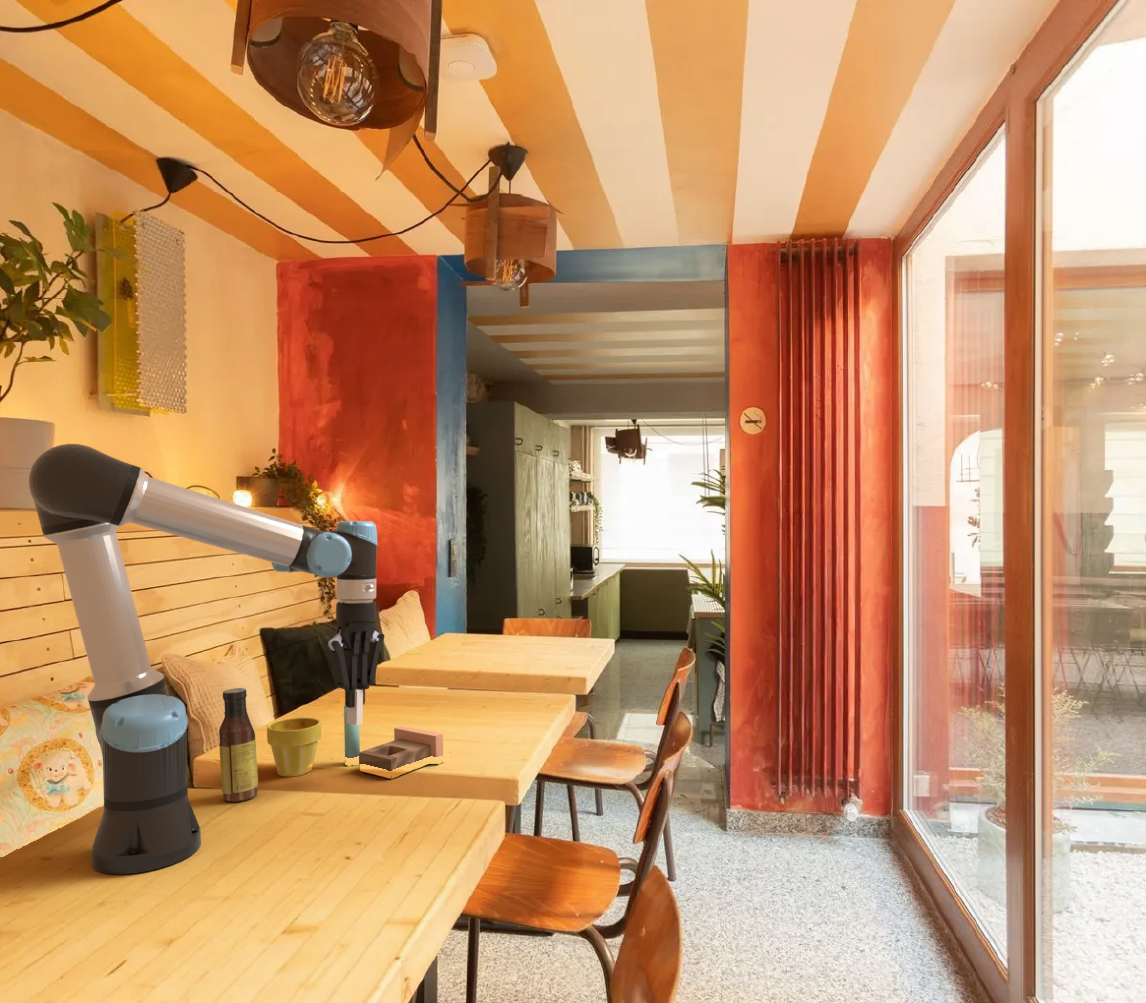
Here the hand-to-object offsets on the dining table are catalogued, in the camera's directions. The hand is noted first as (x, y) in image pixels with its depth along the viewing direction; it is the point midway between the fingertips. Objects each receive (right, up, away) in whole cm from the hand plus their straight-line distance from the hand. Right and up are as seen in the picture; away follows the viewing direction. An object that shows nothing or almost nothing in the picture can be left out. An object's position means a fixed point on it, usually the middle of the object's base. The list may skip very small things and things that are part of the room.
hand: (354, 723), depth 160 cm
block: (+6, -11, +8) cm, 15 cm away
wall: (+10, -11, +14) cm, 20 cm away
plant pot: (-14, -12, +7) cm, 20 cm away
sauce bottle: (-19, -12, -7) cm, 24 cm away
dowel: (-4, -12, +12) cm, 17 cm away
